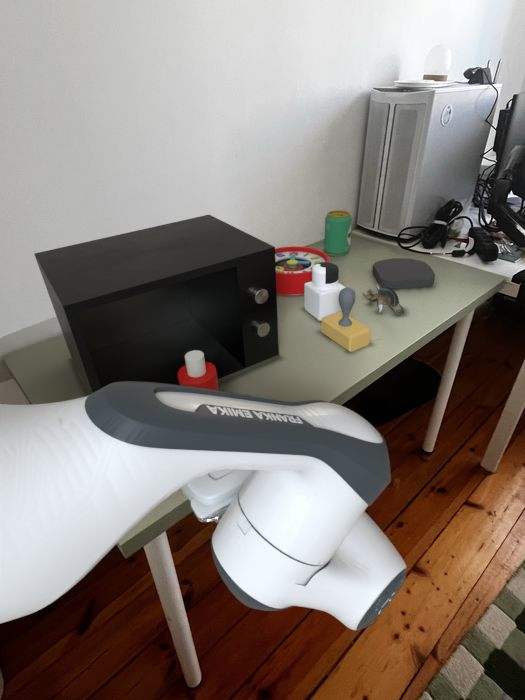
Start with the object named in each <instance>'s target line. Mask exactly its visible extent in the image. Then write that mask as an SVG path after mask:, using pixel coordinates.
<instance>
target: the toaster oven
mask: <svg viewBox="0 0 525 700" xmlns="http://www.w3.org/2000/svg"><path fill="white" fill-rule="evenodd" d="M275 249H276V247H275V246H273V245H271V244H270V243H267V242H266V241H264V240H262V239H259V238H258V237H256V236H254V235H252V234H250V233H248V232H245V231H243V230H241V229H240V228H237V227H235V226H234V225H231V224H229V223H228V222H225V221H223V220H221V219H219V218H217V217H215V216H213V215H211V214H205V215H201V216H196V217H193V218H191V217H190V218H187V219H183V220H178V221H174V222H169V223H165V224H161V225H156V226H152V227H146V228H143V229H138V230H134V231H133V230H132V231H130V232H124V233H120V234H115V235H111V236H107V237H102V238H98V239H93V240H89V241H84V242H79V243H76V244H71V245H66V246H62V247H57V248H53V249H49V250H44V251H40V252H35V253H34V254H33V255H34V259H35V260H36V263H37V266H38V269H39V271H40V275H41V277H42V279H43V283H44V285H45V288H46V291H47V293H48V297H49V299H50V302H51V304H52V308H53V310H54V313H55V316H56V319H57V322H58V324H59V327H60V329H61V333H62V336H63V339H64V341H65V344H66V346H67V349H68V353H69V355H70V358H71V360H72V362H73V365H74V367H75V370H76V371H77V373H78V375H79V378H80V379H81V381H82V384H83V386H84V389H85V390H86V393H87V394H88V395H90V394H92V393H94V392H96V391H98V390H99V389H101V388H103V387H105V386H107V385H108V384H111V383H114V382H121V381H138V382H155V383H164V384H174V385H179V380H178V371H179V370H180V369H181V368H182V367H183V366H184V365H186V362H185V355H186V353H188V352H190V351H193V350H199V351H202V352H203V353H204V359H205V361H206V362H209V363H211V364H213V365H214V366H215V368H216V371H217V379H218V385H219V384H221V383H223V382H226V381H228V380H231V379H233V378H236V377H238V376H240V375H243V374H246V373H248V372H251V371H252V370H255V369H257V368H258V369H259V368H260V367H262V366H264V365H267V364H270V363H273V362H275V361H278V360H279V359H280V351H279V350H280V349H279V346H280V345H279V323H278V321H279V319H278V294H277V289H276V261H275Z"/></svg>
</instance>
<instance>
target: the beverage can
mask: <svg viewBox="0 0 525 700" xmlns="http://www.w3.org/2000/svg"><path fill="white" fill-rule="evenodd" d="M352 222H353V217H352V215H351V212H350V211H348V210H340V209H337V210H331V211H328V212H327V213H326V216H325V218H324V244H323V246H324V248H323V249H324V251H325V254H327V255H328V256H333V257H342V256H345V255H348V253H349V251H350V250H351V241H352V224H353V223H352Z"/></svg>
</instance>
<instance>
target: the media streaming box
mask: <svg viewBox="0 0 525 700" xmlns="http://www.w3.org/2000/svg"><path fill="white" fill-rule="evenodd" d="M372 273H373V275H374V278H375V279H376V281H377V283H378V284H379V285H380V286H381V287H383V286H385V287H389V288H392V289H416V288H427V287H431V286H433V285H434V284H435V280H436V274H435V271H434V270H433V268H432V267H431V266H430V265H429V264H428V263H427V262H425V261H423V260H419V259H415V258H409V257H407V258H406V257H397V258H396V257H394V258H386V259H381V260H378V261H376V262H374V263H373V266H372Z"/></svg>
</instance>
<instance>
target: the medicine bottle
mask: <svg viewBox="0 0 525 700" xmlns="http://www.w3.org/2000/svg"><path fill="white" fill-rule="evenodd" d="M339 270H340V267H339V266H338V265H337V264H336V263H333V262H330V261H329V262H321V263H318V264H315V265H314V266H313V267H312V281H311V282H307V283H305V284H304V294H303V296H304V299H303V300H304V303H303V306H304V310H305V311H306V312H308V314H310V315H311V316H313V318H315V319H316V320H317V321H319V322H321V320H322V318H324V317H327V316H329V315H332V314H335V313H338V312H342V310H341V307H340V304H339V299H338V298H339V293H340V291H341V290H342V289H344V288H347V287H346V286H345V285H343V284H342V283H340V282H339V272H340V271H339Z"/></svg>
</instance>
